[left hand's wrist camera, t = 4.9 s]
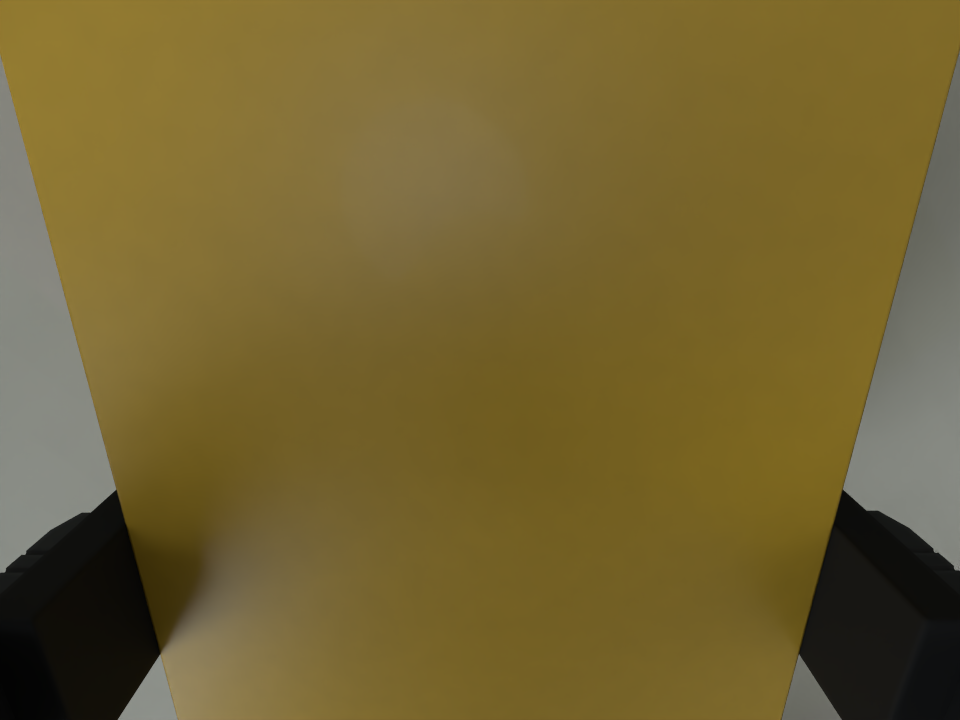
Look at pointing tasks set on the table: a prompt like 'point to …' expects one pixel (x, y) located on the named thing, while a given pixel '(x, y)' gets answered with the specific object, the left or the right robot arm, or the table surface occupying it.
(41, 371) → the table surface
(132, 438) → the yellow two-tone block
